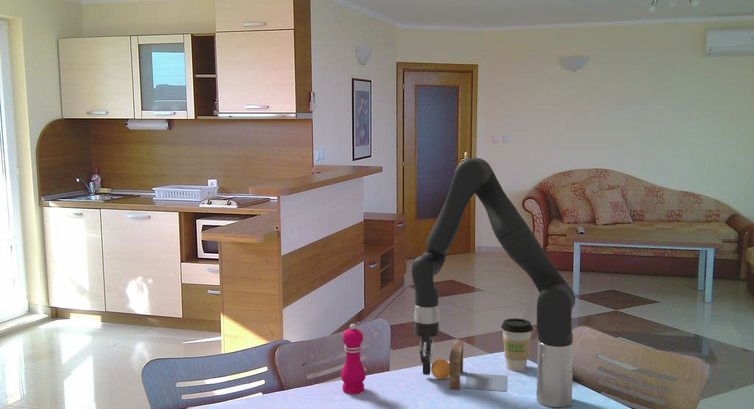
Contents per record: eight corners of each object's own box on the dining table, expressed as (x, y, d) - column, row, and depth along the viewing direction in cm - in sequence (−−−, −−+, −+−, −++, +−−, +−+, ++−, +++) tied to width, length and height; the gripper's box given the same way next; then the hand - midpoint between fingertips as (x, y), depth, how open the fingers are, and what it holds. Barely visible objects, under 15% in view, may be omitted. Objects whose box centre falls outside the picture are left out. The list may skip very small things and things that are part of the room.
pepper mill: (362, 396, 181) (362, 328, 178) (338, 394, 182) (337, 326, 180) (368, 386, 188) (367, 320, 185) (344, 384, 189) (343, 319, 187)
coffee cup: (494, 365, 204) (495, 320, 203) (519, 360, 208) (519, 316, 207) (513, 375, 195) (514, 328, 194) (538, 370, 200) (539, 324, 198)
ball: (428, 369, 197) (445, 379, 196) (426, 375, 191) (444, 385, 190) (437, 352, 196) (454, 362, 195) (436, 358, 190) (453, 369, 189)
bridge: (463, 371, 199) (463, 341, 198) (459, 390, 184) (459, 358, 183) (453, 370, 200) (453, 340, 199) (449, 389, 185) (449, 357, 184)
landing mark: (506, 376, 195) (506, 375, 195) (506, 391, 183) (506, 390, 183) (467, 373, 197) (467, 372, 197) (464, 388, 186) (464, 387, 186)
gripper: (436, 326, 184) (436, 383, 186) (441, 313, 197) (441, 367, 199) (411, 324, 186) (411, 381, 188) (417, 312, 199) (417, 365, 201)
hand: (426, 373), depth 194 cm, fingers closed
